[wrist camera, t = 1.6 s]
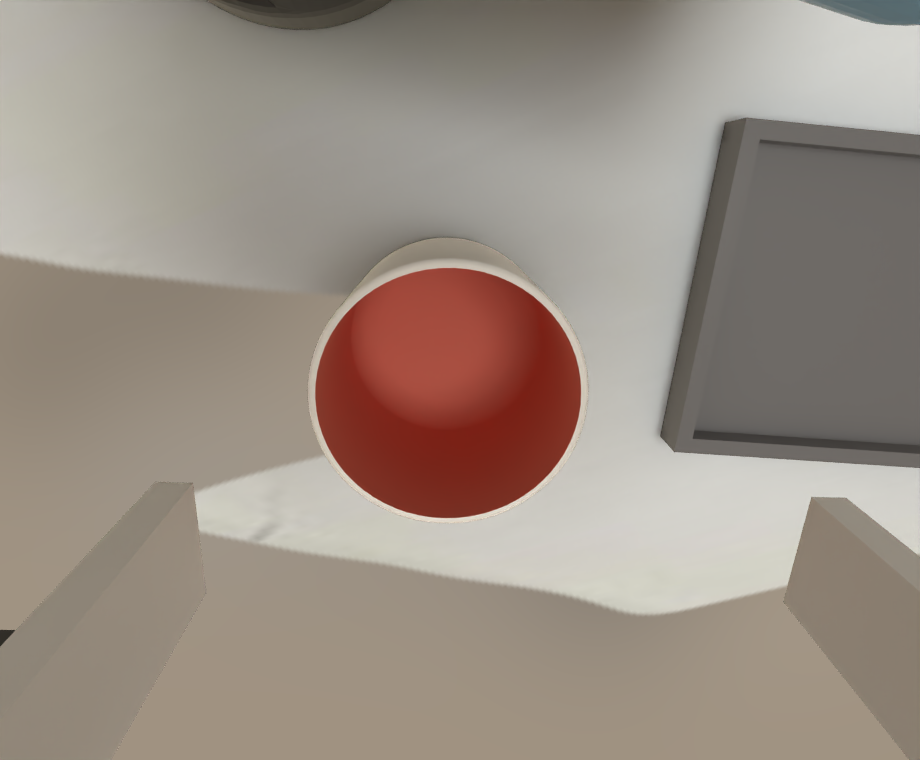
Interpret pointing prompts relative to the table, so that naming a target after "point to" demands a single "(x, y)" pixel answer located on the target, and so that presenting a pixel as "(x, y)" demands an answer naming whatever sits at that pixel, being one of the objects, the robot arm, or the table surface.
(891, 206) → the tray
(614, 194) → the table surface
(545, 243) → the table surface
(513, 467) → the cup
